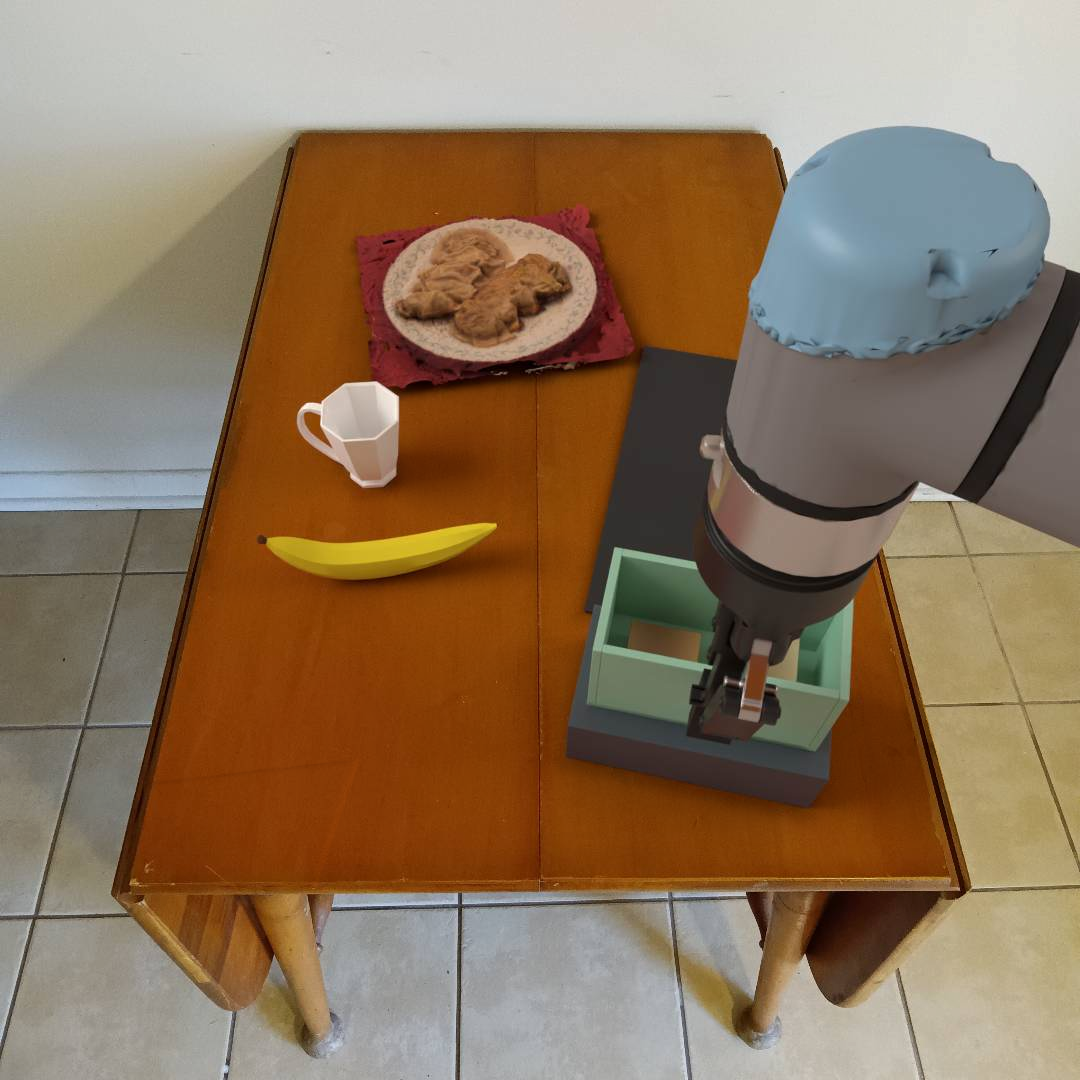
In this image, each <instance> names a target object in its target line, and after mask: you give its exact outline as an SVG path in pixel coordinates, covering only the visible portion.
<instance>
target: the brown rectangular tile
mask: <svg viewBox="0 0 1080 1080" xmlns="http://www.w3.org/2000/svg"><path fill="white" fill-rule="evenodd" d="M700 642H701V633H696V632H691V631H685V630H680V629H675V628H670V627H665V626H660V625H654V624H649V623H644V622H639V621H634V620H632V621H631V626H630V631H629V637H628V642H627V647H626V649H631V650H636V651H641V652H646V653H651V654H656V655H661V656H666V657H672V658H677V659H682V660H687V661H692V662H697V663H698V656H699V649H700Z"/></svg>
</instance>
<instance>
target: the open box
mask: <svg viewBox="0 0 1080 1080" xmlns="http://www.w3.org/2000/svg"><path fill="white" fill-rule="evenodd" d="M854 600H855V597H854V598H853V599H852V601H851V602H850V603H849V604H848V605H847V606H846V607H845V608H844V609H843V610H841V611H840V612H839V613H837V614H836V615H834V616H832V617H830V618H828V619H826V620H824V621H821V622H819V623H816V624H813V625H810V626H807V627H805V629H804V631H803V633H802V635H801V637H800V646H799V659H798V672H797V682H793V681H788V680H783V679H778V678H773V677H768V676H767V680H766V683H769V684H774V685H777V686H778V693H777V696H776V697H777V698H778V699H779V701H780V708H781V716H780V719H777V723H776V725H775V726H772V725H767V724H764V725H763V726H762V727H761V728H760V729H759V730H758V731H757V732H756V733H755V734H754V735H753V736H752V737H750V738H751V739H756V740H761V741H766V742H771V743H775V744H780V745H785V746H790V747H795V748H800V749H805V750H809V751H814V752H816V750H817V749H818V747H819V746H820V744H821V743H822V741H823V740H824V738H825V737H826V735H827V734H828V732H829V731H830V729H831V727H832V728H833V726H834V725H835V723H836V722H837V720H838V719H839V717H840V715H841V714H842V713H843V711H844V709H845V708H846V706H847V705H848V704H849V702H850V696H851V695H850V692H851V671H852V651H853V650H852V647H853V629H854V628H853V625H854V602H855V601H854ZM718 602H719V599H718V598H717V597H716V596H715V595H714V594H713V593H712V592H711V591H710V590H709V588H708V587H707V585H706V584H705V582H704V581H703V579H702V577H701V575H700V573H699V571H698V568H697V566H696V562H693V561H687V560H682V559H676V558H671V557H666V556H660V555H655V554H649V553H644V552H639V551H633V550H628V549H622V548H617V547H615V548H614V552H613V557H612V561H611V566H610V571H609V576H608V580H607V585H606V590H605V594H604V599H603V604H602V608H601V613H600V618H599V622H598V627H597V632H596V637H595V641H594V646H593V652H592V661H591V671H590V680H589V690H588V699H587V705H590V706H595V707H600V708H605V709H610V710H615V711H620V712H625V713H629V714H634V715H639V716H644V717H649V718H654V719H659V720H663V721H668V722H673V723H678V724H683V725H688V718H689V713H690V710H691V707H692V705H690V704H689V698H690V692H691V687H692V684H696V685H699V682H700V679H701V676H702V673H703V670H704V668H706V669H711V670H712V667H713V666H710V665H708V660H707V659H706V655H707V650H709V647H710V646H711V643H712V640H713V637H714V634H715V632H713V627H712V626H711V623H712V618H713V617H714V616H715V614H716V610H717V606H718ZM632 620H634V621H639V622H644V623H649V624H654V625H660V626H665V627H670V628H675V629H680V630H685V631H691V632H696V633H701V642H700V649H699V656H698V663H697V662H692V661H687V660H682V659H677V658H672V657H666V656H661V655H656V654H651V653H646V652H641V651H636V650H631V649H626V647H627V642H628V637H629V631H630V626H631V621H632Z"/></svg>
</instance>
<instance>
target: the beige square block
mask: <svg viewBox="0 0 1080 1080" xmlns="http://www.w3.org/2000/svg"><path fill="white" fill-rule="evenodd" d="M799 646H800V638H799V639H796V640H794V641H792V643H791V645H790V647H789V650H788V652H787V654H786V656H785V658H784V660H783V661H782V662H781V663H779V664H777V665H775V666H769V669H768V674H767V676H768V677H773V678H778V679H783V680H788V681H793V682H797V672H798V659H799Z"/></svg>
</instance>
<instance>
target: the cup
mask: <svg viewBox="0 0 1080 1080" xmlns="http://www.w3.org/2000/svg"><path fill="white" fill-rule="evenodd" d="M306 413H313V414H316V415H319V416H320V422H319V423H320V425H319V426H320V428H321V429H322V431H323V434H324V435H325V437H326V439H327V440H328V442H329V444H330V446H329V445H328V444H326V443H325V442H324V441H322V440H321V439H319V438H318V437H317V436H316V435H315V434H313V433H312V432H311V431H310V430H309V428H308V427H307V425H306V422H305V421H306V420H305V414H306ZM296 416H297V417H296V425H297V429H298V431H299V433H300V434H301V436H302V437H303V439H304V440H305V441H306V442H308V443H309V444H310V445H311V447H313V448H315V449H316V450H318V451H319V452H321V453H322V454H323V455H325V456H327V457H329V458H330V459H332V460H333V461H335V462H337V463H339V464H341V465H343V466H344V468H345V469H346V471H347V472H349V473H350V474H349V476H350V479H351V480H352V481H353V482H355V483H356V484H357V485H359V486H360V487H362V488H363V489H374V488H383V487H385V486H386V485H388V483H389V482H391V481H392V480H393V479H394V478H395V477H396V476H397V462H398V458H399V457H398V456H399V435H400V434H399V431H400V430H399V429H400V395H397V394H396V393H394V392H393V391H392V390H390V389H388V387H384V386H382V385H381V384H380V383H378V382H377V381H376V382H372V381H362V382H361V381H360V382H345V383H344V384H342V385H341V386H339V387H338V388H336V390H334V391H333V392H332V393H330V394H329V395H328V396H327V397H325V398H324V399H323V400H321V403H317V402H306V403H304V405H302V406H301V408H300V409H299V411H298V412H297V415H296Z"/></svg>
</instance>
